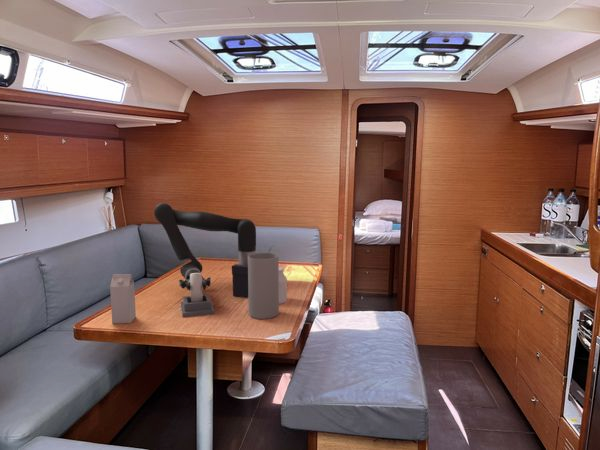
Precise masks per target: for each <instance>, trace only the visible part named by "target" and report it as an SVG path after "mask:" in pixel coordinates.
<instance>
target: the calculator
mask: <svg viewBox="0 0 600 450" xmlns="http://www.w3.org/2000/svg"><path fill="white" fill-rule="evenodd" d="M231 275H232V297H238V298H247V299H249V298H248V265H239V264H237V263H236V264H235V263H234V264H233V265H231Z"/></svg>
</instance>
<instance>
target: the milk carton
mask: <svg viewBox="0 0 600 450" xmlns="http://www.w3.org/2000/svg"><path fill="white" fill-rule="evenodd" d="M111 275H112V278H111V282H110V286H109V290H110V291H109V293H110V305H111V306H110V308H111V322H112V323H111V324H131V323H132V322H133V321H134V320H135V319H136V317H137V316H136V296H135V295H136V292H135V281H134V279H133V277H132V273H129V274H127V273H124V274H111Z"/></svg>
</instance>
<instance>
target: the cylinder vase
mask: <svg viewBox="0 0 600 450" xmlns="http://www.w3.org/2000/svg"><path fill="white" fill-rule="evenodd" d="M279 264H280V263H279V254H277V253H272V252H269V253H268V252H256V253H254V254H250V255H248V298H247V299H248V315H249V316H250V317H251V318H253V319H256V320H258V319H259V320H269V319H272V318H276V317H277V316H278V315H279V313H280V304H279V267H280V266H279Z"/></svg>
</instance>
